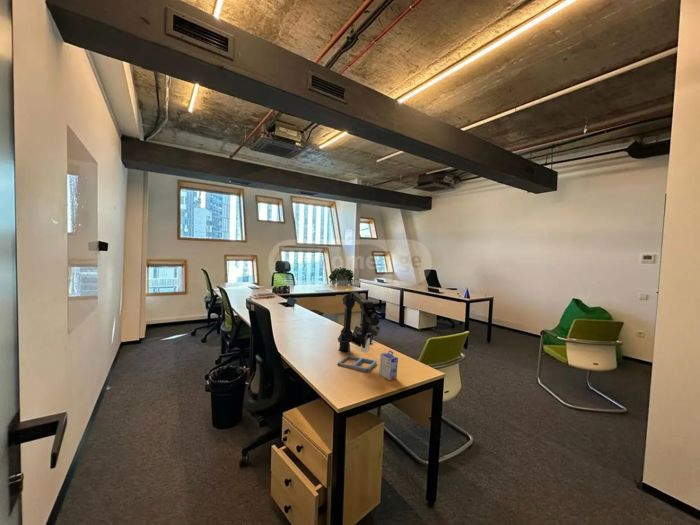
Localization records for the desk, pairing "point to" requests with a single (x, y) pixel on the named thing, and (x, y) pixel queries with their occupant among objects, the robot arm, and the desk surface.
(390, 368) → the ink cartridge box
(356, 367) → the frame
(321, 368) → the desk surface
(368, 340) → the cord plug
